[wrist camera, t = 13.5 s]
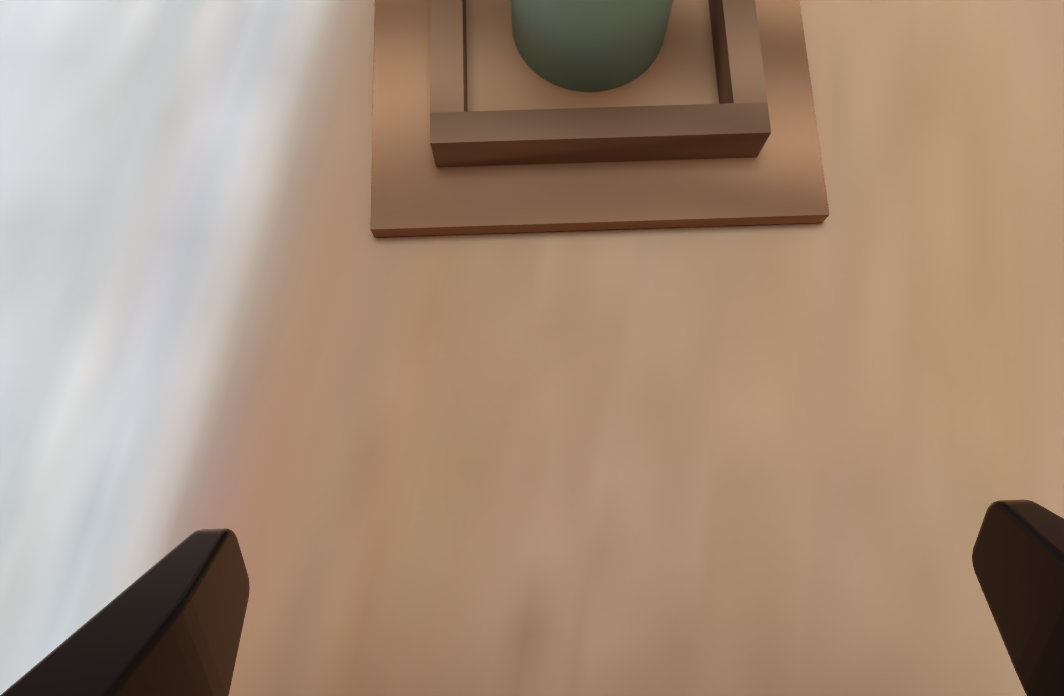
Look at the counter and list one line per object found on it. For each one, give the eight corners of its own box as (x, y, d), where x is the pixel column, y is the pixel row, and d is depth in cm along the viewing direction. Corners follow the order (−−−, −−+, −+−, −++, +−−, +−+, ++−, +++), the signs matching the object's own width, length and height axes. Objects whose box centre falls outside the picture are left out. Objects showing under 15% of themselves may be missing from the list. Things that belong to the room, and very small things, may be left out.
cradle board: (822, 222, 24) (848, 192, 22) (374, 236, 24) (360, 208, 22) (772, -141, 28) (791, -195, 26) (381, -129, 28) (368, -183, 26)
